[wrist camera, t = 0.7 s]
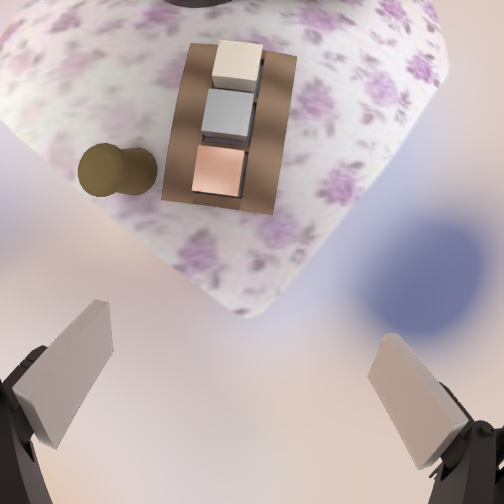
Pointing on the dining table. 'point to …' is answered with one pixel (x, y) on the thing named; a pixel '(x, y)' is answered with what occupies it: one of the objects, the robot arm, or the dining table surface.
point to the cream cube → (237, 65)
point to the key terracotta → (218, 170)
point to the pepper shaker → (116, 170)
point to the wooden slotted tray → (260, 151)
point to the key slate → (227, 114)
